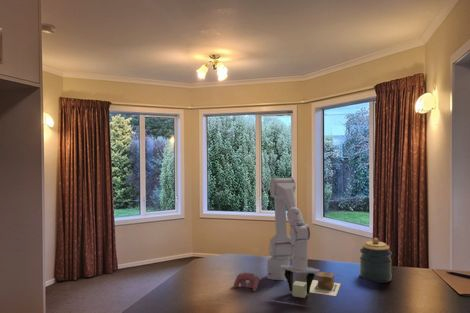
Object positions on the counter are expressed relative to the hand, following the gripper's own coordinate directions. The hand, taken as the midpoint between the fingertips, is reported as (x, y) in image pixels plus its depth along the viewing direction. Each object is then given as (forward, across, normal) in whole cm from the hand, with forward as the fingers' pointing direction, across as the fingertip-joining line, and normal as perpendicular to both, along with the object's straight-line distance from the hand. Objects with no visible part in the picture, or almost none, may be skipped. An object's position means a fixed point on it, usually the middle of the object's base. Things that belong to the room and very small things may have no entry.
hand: (299, 291), depth 144 cm
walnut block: (+1, +8, +12) cm, 14 cm away
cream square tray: (+2, +7, +11) cm, 13 cm away
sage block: (+2, 0, 0) cm, 2 cm away
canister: (+2, +26, +32) cm, 41 cm away
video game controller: (+2, -22, 0) cm, 22 cm away
